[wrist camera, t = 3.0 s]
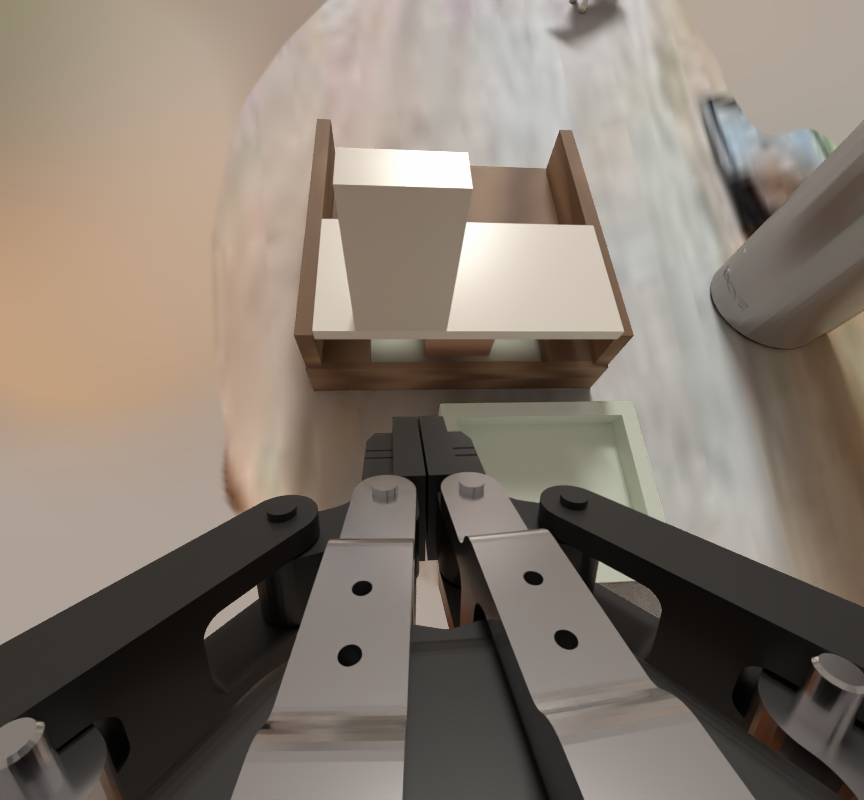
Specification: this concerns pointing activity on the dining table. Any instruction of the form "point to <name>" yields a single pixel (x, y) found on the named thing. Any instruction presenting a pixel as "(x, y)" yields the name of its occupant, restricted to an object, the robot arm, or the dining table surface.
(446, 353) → the terracotta block
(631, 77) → the dining table surface
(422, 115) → the dining table surface
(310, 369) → the brown wooden box
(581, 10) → the bull figurine
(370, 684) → the robot arm
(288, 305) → the dining table surface
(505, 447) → the sage tray
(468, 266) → the cover
